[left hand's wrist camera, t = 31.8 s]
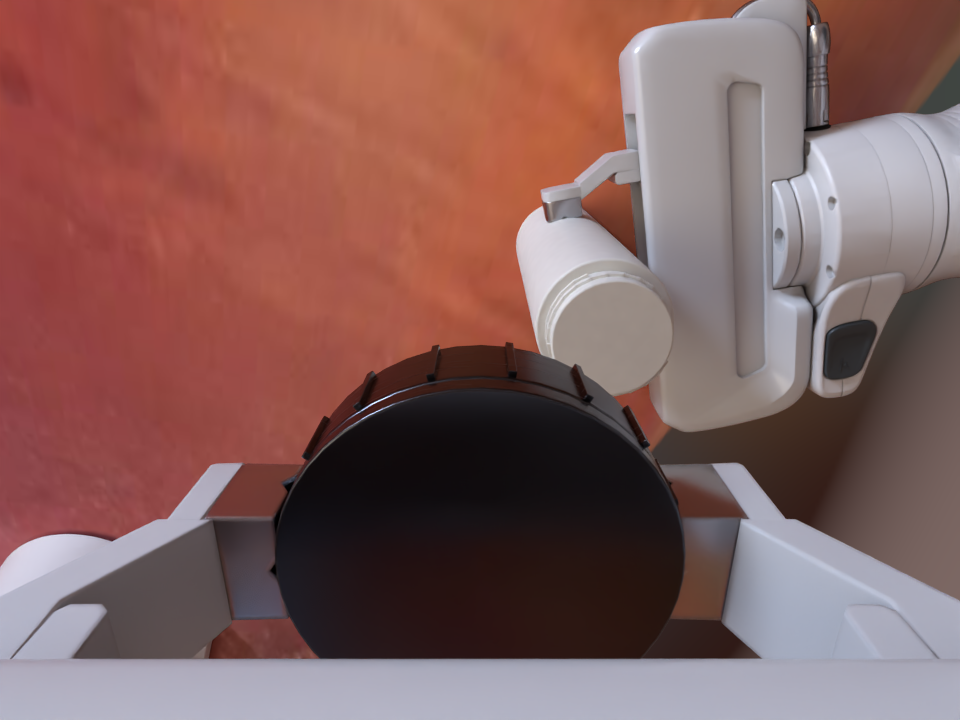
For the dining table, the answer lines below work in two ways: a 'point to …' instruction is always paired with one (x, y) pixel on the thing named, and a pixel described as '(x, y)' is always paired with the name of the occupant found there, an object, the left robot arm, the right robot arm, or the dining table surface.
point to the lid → (480, 517)
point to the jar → (594, 302)
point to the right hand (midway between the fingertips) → (552, 268)
